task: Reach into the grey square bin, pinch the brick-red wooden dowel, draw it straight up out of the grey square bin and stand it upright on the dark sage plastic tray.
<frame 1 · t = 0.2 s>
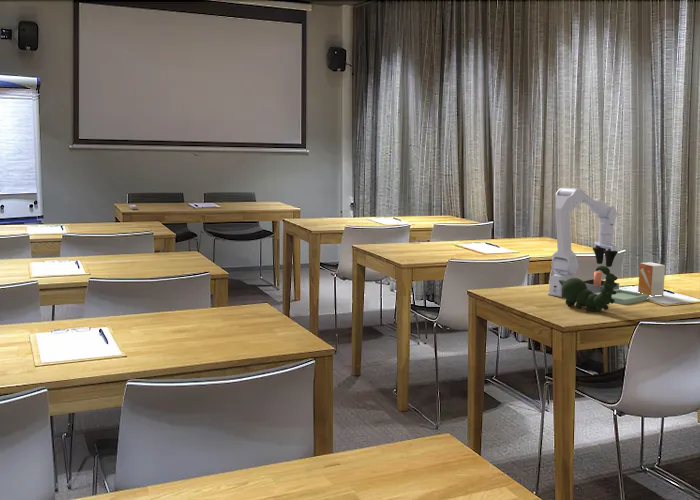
hand: (604, 265, 314), 10 cm above the table, fingers open, 7 cm apart
grey square bin: (596, 290, 309), on the table
toy figurine: (584, 309, 276), on the table
small box: (650, 295, 301), on the table
tray: (621, 299, 293), on the table
dowel: (597, 281, 309), in the grey square bin
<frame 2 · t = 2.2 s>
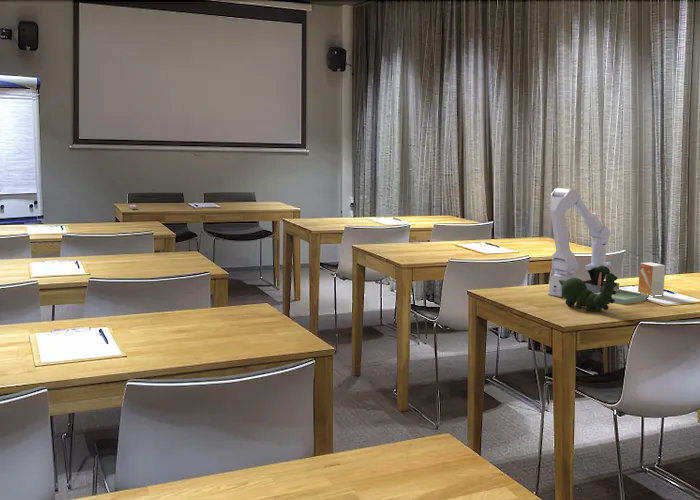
hand: (597, 285, 309), 2 cm above the table, fingers closed on dowel, 3 cm apart
dowel: (597, 281, 309), in the grey square bin, touching gripper
everything else where it was.
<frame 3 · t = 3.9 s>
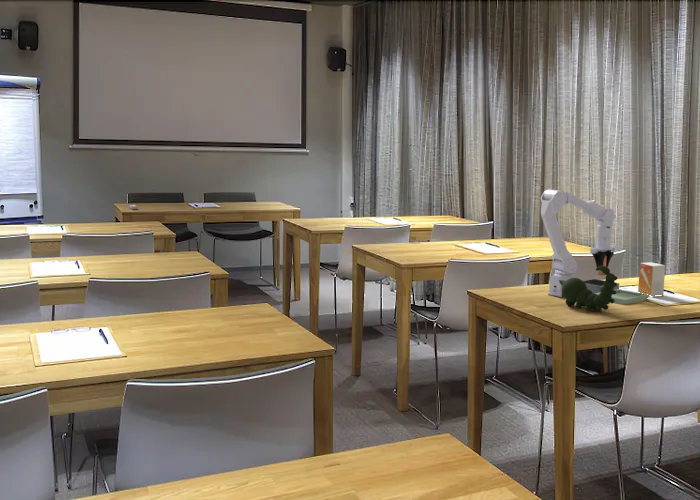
hand: (602, 268, 305), 10 cm above the table, fingers closed on dowel, 3 cm apart
dowel: (602, 265, 305), point 12 cm above the table, touching gripper
everything else where it was.
when the fingers open (4 cm above the table, at t = 6.1 s): dowel stays where it is, resting on tray.
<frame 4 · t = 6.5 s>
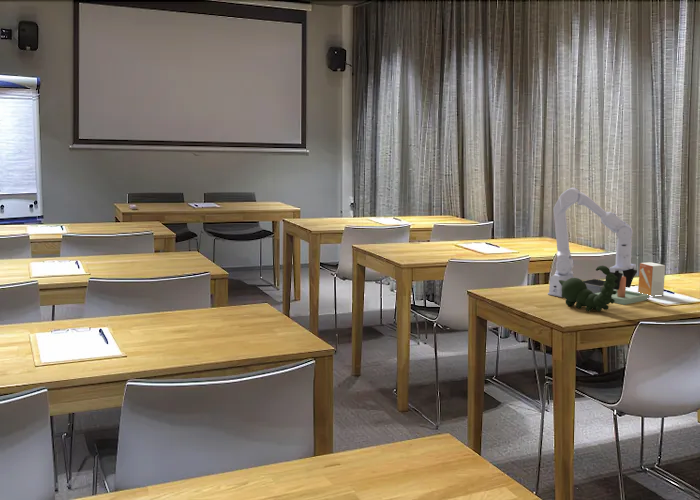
hand: (621, 288, 292), 4 cm above the table, fingers open, 7 cm apart
dowel: (621, 286, 292), in the tray, point 5 cm above the table
everything else where it was.
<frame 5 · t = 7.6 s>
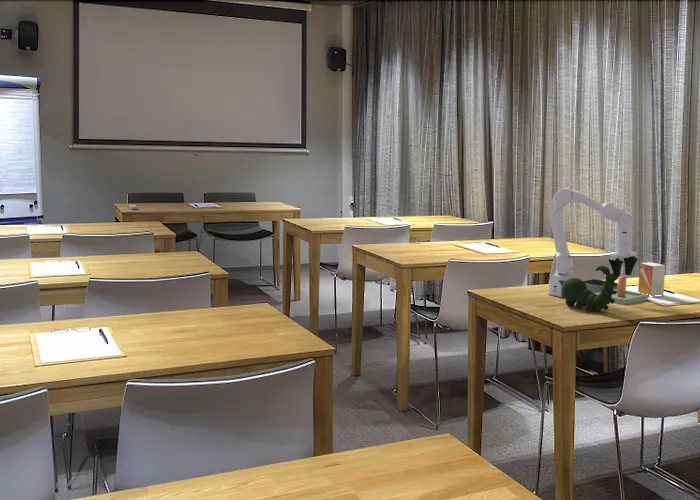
hand: (622, 276, 292), 9 cm above the table, fingers open, 7 cm apart
nothing on the table moved.
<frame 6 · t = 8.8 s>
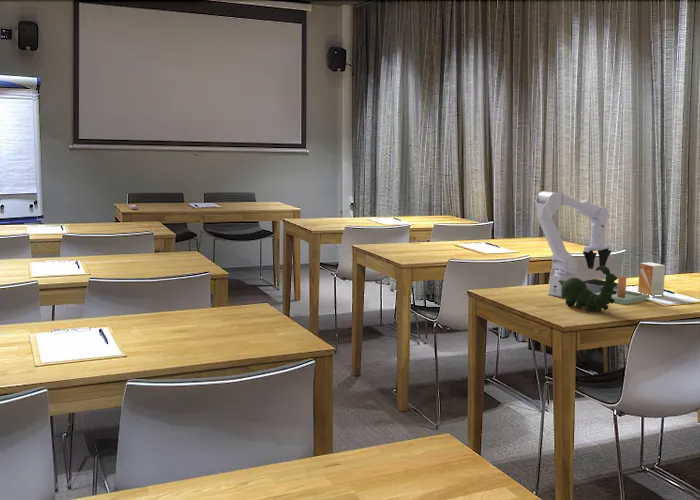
hand: (596, 267, 305), 10 cm above the table, fingers open, 7 cm apart
nothing on the table moved.
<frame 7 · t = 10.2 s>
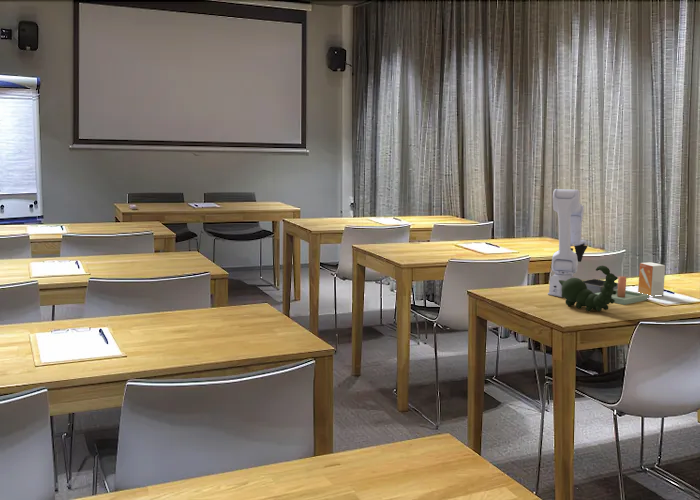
hand: (573, 262, 318), 10 cm above the table, fingers open, 7 cm apart
nothing on the table moved.
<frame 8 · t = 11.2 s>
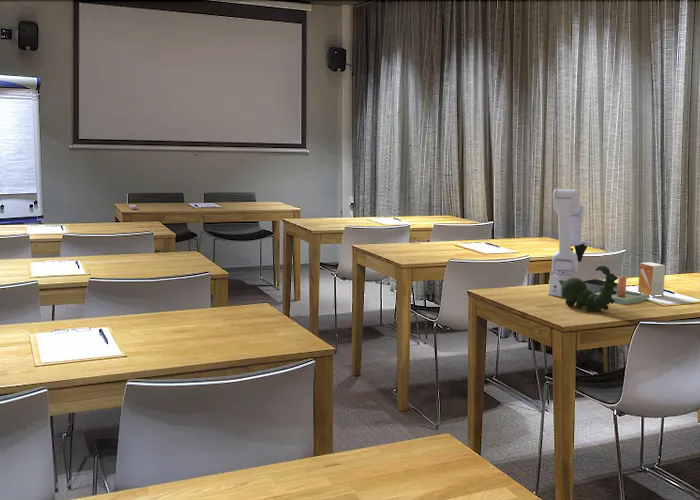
hand: (573, 262, 318), 10 cm above the table, fingers open, 7 cm apart
nothing on the table moved.
at the end: dowel inside the target area on the tray (0.0 cm from its centre), point 5.0 cm above the tray's base; dowel tilted 0°; the gripper is holding nothing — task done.
